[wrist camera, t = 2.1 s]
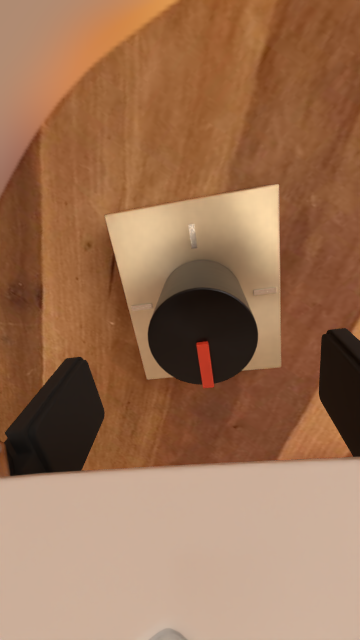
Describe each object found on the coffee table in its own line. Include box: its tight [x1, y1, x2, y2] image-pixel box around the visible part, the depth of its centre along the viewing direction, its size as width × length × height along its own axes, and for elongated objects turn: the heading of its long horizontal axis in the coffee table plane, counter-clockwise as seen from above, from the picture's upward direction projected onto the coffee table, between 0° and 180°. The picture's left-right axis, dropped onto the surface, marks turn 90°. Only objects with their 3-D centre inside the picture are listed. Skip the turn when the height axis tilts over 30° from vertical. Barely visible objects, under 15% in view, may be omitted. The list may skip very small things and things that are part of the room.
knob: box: [148, 260, 258, 388], centre depth 15 cm, size 5×5×6 cm
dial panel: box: [104, 184, 281, 380], centre depth 19 cm, size 12×10×3 cm
